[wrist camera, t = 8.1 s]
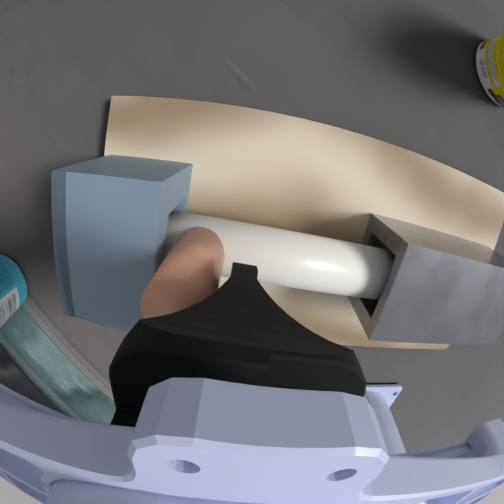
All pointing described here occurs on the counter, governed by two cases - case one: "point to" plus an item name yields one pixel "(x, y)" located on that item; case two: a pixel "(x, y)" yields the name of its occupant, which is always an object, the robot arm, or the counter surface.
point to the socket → (113, 232)
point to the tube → (10, 288)
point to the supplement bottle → (492, 68)
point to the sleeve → (433, 287)
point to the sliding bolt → (258, 262)
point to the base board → (303, 186)
